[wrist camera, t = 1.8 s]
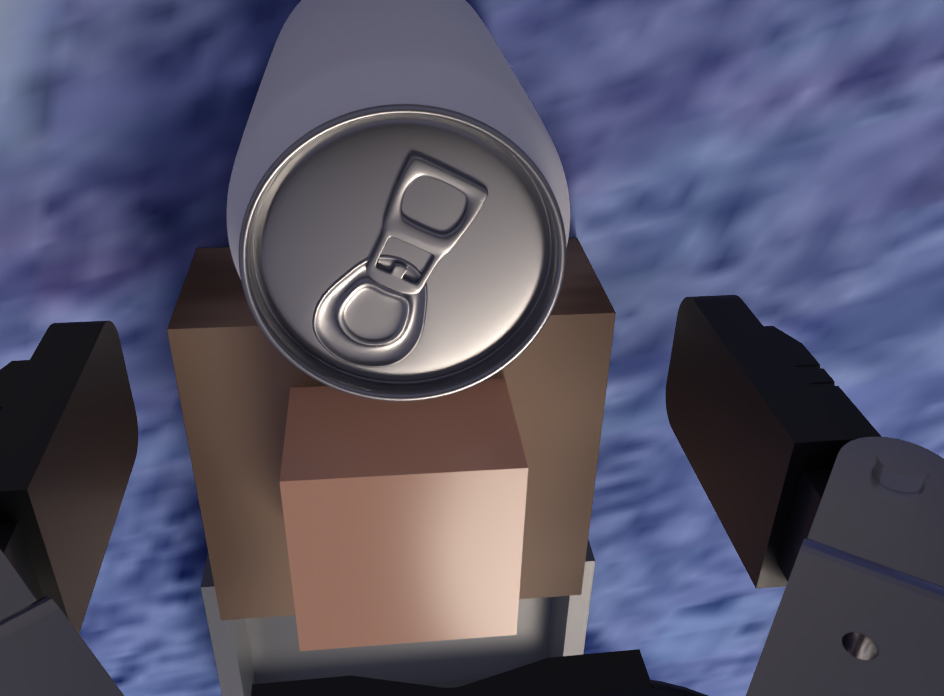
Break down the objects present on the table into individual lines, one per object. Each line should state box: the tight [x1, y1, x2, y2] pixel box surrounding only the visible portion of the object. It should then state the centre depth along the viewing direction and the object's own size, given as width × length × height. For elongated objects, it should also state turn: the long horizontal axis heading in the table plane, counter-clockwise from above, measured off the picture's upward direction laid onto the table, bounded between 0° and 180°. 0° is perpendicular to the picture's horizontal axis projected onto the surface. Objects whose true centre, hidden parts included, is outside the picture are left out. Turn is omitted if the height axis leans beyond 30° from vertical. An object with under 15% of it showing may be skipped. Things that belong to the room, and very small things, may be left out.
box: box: [201, 540, 595, 696], centre depth 35 cm, size 14×10×3 cm
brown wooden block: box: [167, 238, 616, 620], centre depth 29 cm, size 12×11×5 cm
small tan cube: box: [279, 378, 528, 651], centre depth 24 cm, size 6×6×4 cm
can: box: [227, 0, 570, 401], centre depth 20 cm, size 6×6×12 cm
